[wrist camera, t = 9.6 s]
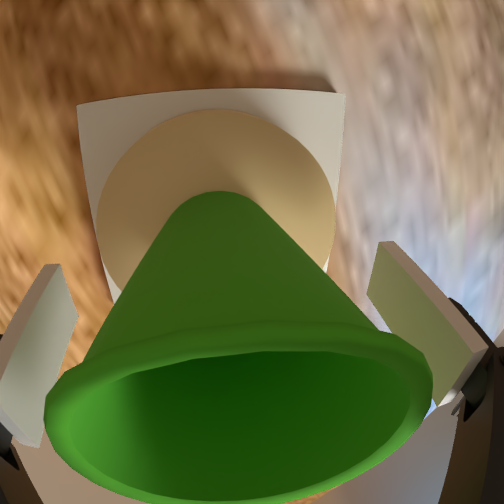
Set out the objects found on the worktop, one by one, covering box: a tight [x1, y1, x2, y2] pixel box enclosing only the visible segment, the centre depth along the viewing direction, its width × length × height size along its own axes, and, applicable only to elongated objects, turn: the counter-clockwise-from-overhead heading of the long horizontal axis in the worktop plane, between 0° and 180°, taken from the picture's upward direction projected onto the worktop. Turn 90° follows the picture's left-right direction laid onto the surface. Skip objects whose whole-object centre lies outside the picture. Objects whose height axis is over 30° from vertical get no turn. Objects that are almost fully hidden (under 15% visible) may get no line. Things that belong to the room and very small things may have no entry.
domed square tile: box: [76, 88, 346, 304], centre depth 17 cm, size 14×14×4 cm
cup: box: [43, 191, 433, 504], centre depth 11 cm, size 9×9×11 cm
